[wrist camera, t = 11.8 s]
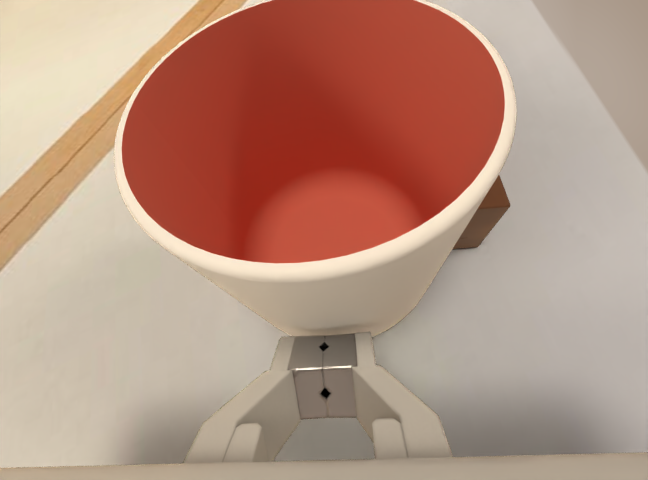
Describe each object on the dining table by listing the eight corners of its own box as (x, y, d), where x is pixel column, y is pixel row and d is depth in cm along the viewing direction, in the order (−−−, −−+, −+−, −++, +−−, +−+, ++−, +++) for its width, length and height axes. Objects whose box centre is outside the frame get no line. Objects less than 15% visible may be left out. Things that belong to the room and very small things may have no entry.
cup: (230, 342, 15) (33, 272, 6) (262, 180, 19) (176, 2, 10) (439, 354, 14) (583, 288, 5) (422, 177, 18) (480, -31, 9)
